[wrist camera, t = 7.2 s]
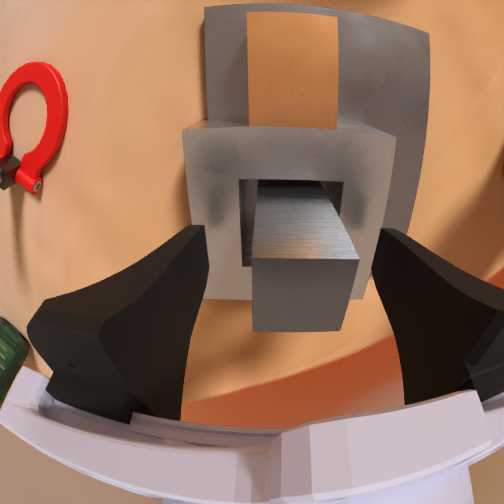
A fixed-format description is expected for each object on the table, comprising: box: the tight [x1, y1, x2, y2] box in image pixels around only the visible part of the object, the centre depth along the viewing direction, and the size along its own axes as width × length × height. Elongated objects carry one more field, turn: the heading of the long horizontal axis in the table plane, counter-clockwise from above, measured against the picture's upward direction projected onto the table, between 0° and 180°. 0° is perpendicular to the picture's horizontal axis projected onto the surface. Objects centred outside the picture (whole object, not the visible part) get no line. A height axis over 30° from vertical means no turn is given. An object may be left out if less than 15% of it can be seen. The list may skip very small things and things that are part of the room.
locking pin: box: [251, 179, 360, 332], centre depth 11 cm, size 3×3×8 cm
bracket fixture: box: [182, 4, 430, 300], centre depth 12 cm, size 12×16×4 cm
